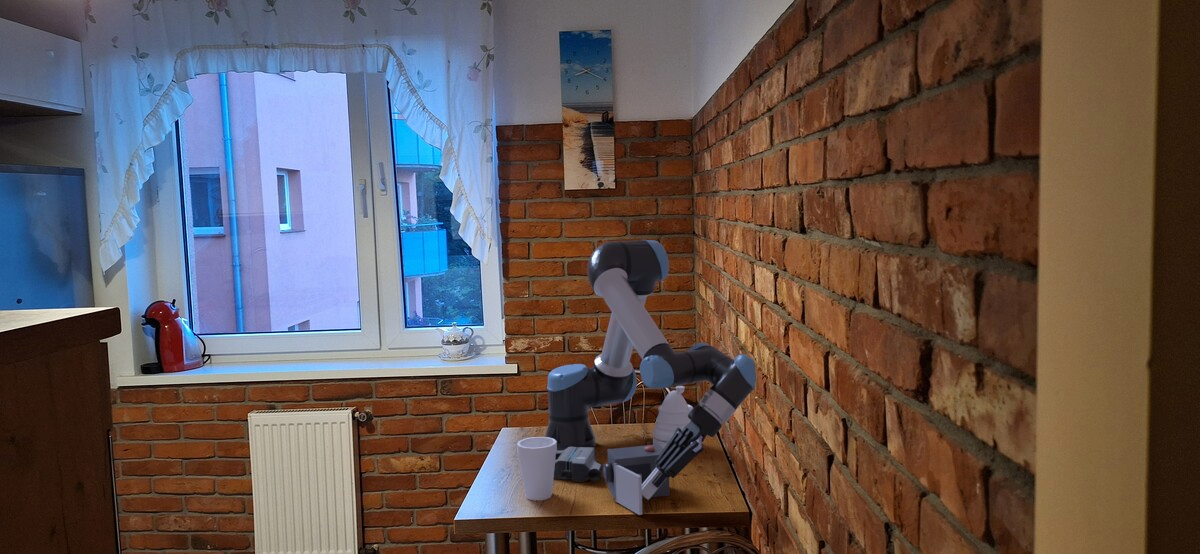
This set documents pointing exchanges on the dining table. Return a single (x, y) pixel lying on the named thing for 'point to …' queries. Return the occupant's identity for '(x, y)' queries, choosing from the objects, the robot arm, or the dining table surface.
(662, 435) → the honey pot
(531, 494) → the foam cup
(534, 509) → the dining table surface
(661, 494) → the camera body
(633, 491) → the side door
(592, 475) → the camcorder
